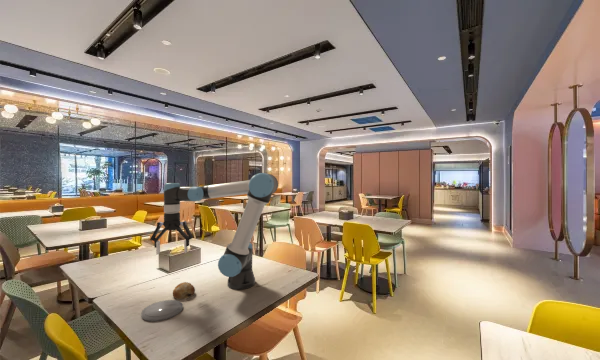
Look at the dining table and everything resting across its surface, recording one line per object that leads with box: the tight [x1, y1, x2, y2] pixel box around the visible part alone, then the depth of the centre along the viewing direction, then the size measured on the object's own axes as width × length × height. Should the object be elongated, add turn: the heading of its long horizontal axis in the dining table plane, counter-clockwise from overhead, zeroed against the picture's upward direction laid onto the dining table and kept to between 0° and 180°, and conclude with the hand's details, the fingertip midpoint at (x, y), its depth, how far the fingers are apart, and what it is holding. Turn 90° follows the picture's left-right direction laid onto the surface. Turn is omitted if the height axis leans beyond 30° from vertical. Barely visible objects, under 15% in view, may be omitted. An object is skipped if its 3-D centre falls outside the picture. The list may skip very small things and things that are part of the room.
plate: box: [140, 299, 184, 322], centre depth 111 cm, size 16×16×1 cm
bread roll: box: [172, 281, 196, 300], centre depth 127 cm, size 10×10×8 cm
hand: (172, 253), depth 132 cm, fingers open, 13 cm apart
